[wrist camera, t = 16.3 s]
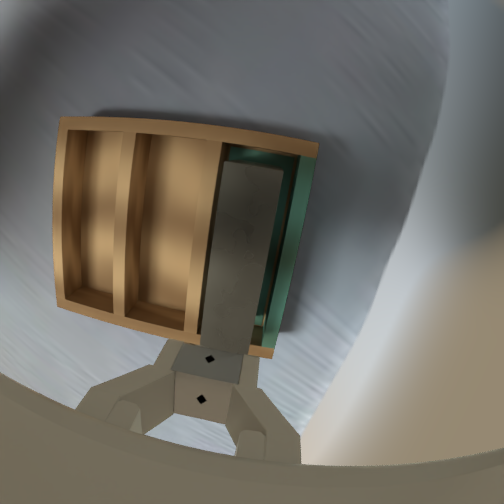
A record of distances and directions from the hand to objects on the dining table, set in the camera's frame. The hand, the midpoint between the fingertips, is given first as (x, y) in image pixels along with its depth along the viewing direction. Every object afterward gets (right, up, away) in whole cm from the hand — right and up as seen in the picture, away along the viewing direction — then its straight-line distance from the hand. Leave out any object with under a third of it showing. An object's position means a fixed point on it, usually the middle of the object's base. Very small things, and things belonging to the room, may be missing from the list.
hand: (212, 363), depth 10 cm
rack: (-5, +6, +15) cm, 17 cm away
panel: (+1, +4, +14) cm, 15 cm away
